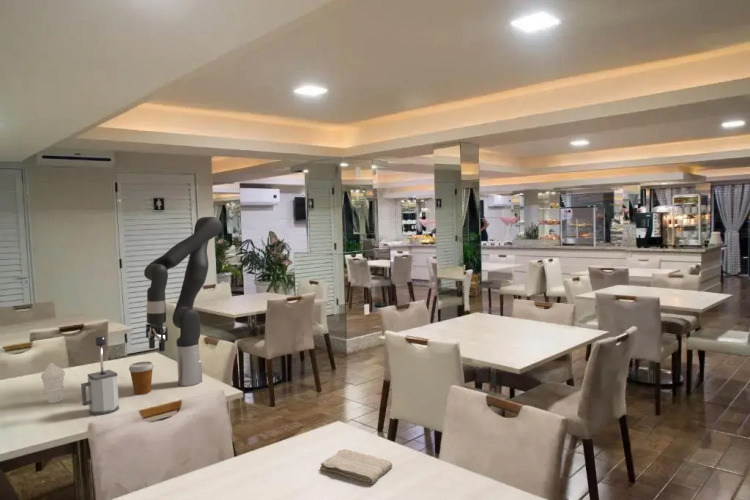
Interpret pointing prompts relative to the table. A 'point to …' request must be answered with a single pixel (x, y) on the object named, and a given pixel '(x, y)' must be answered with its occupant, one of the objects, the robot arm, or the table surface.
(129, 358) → the table surface
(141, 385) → the disposable coffee cup
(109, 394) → the carafe
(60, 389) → the soft serve ice cream cone
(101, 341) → the plunger
